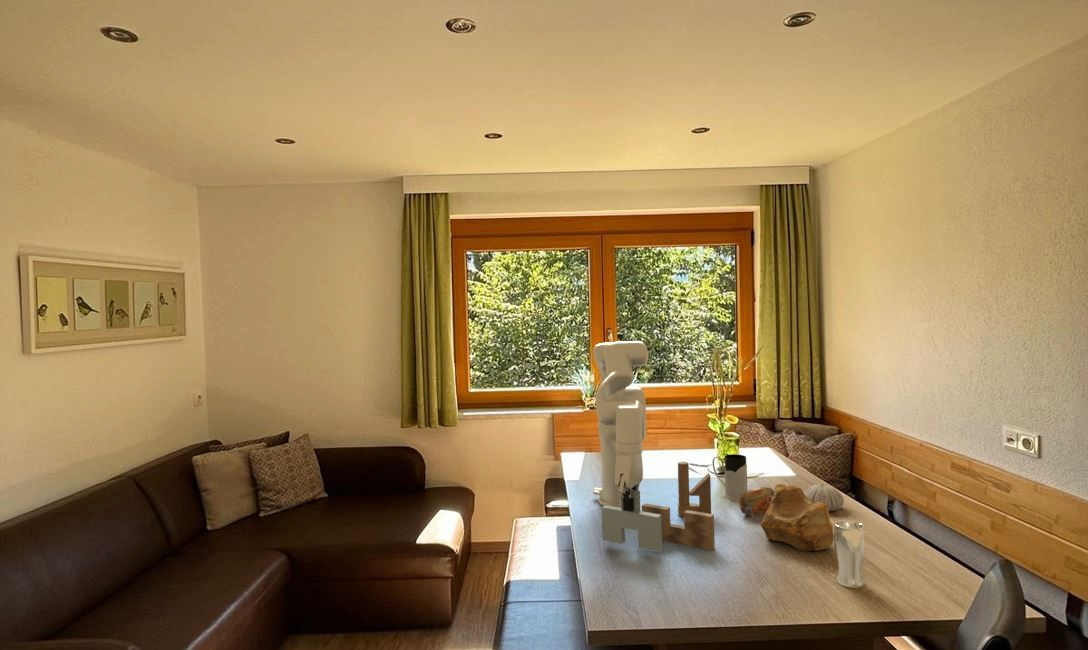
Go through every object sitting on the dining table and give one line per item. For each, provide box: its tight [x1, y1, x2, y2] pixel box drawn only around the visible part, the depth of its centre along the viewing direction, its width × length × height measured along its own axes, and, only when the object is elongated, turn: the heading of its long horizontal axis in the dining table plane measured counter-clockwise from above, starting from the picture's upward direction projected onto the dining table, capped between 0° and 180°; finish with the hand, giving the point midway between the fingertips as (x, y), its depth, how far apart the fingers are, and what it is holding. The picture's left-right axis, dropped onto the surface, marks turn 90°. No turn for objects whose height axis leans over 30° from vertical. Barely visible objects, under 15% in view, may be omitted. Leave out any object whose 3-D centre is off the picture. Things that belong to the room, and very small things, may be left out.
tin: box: [739, 486, 774, 517], centre depth 215 cm, size 15×3×8 cm, turn 117°
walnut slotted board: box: [641, 503, 716, 551], centre depth 191 cm, size 22×2×10 cm, turn 57°
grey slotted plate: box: [601, 489, 663, 552], centre depth 185 cm, size 18×2×16 cm, turn 57°
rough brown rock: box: [760, 483, 834, 553], centre depth 189 cm, size 23×17×15 cm
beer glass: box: [833, 519, 866, 589], centre depth 160 cm, size 7×7×15 cm
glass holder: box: [712, 453, 748, 502], centre depth 235 cm, size 9×14×15 cm, turn 41°
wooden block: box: [677, 461, 712, 517], centre depth 215 cm, size 4×11×18 cm, turn 83°
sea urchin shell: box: [803, 483, 845, 512], centre depth 219 cm, size 13×14×8 cm
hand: (630, 508), depth 185 cm, fingers closed on grey slotted plate, 2 cm apart
